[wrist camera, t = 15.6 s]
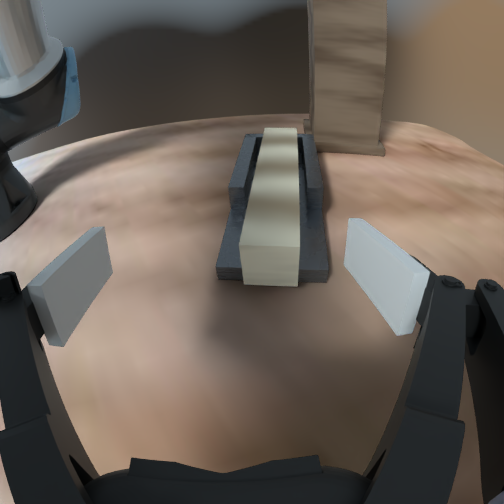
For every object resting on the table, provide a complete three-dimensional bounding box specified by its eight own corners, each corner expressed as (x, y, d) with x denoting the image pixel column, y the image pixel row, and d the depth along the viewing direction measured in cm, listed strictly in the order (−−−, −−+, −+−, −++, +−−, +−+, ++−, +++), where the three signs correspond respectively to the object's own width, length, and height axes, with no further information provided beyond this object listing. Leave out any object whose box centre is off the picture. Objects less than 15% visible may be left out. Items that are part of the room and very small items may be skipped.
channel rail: (248, 159, 41) (245, 134, 38) (312, 160, 40) (313, 134, 37) (218, 279, 25) (210, 243, 22) (326, 282, 24) (332, 246, 21)
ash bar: (266, 155, 38) (265, 127, 35) (296, 155, 38) (296, 127, 35) (244, 284, 23) (238, 244, 20) (297, 286, 22) (300, 246, 19)
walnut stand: (303, 125, 51) (298, -38, 29) (366, 128, 49) (370, -30, 27) (307, 151, 42) (301, -55, 20) (384, 156, 41) (393, -42, 19)
